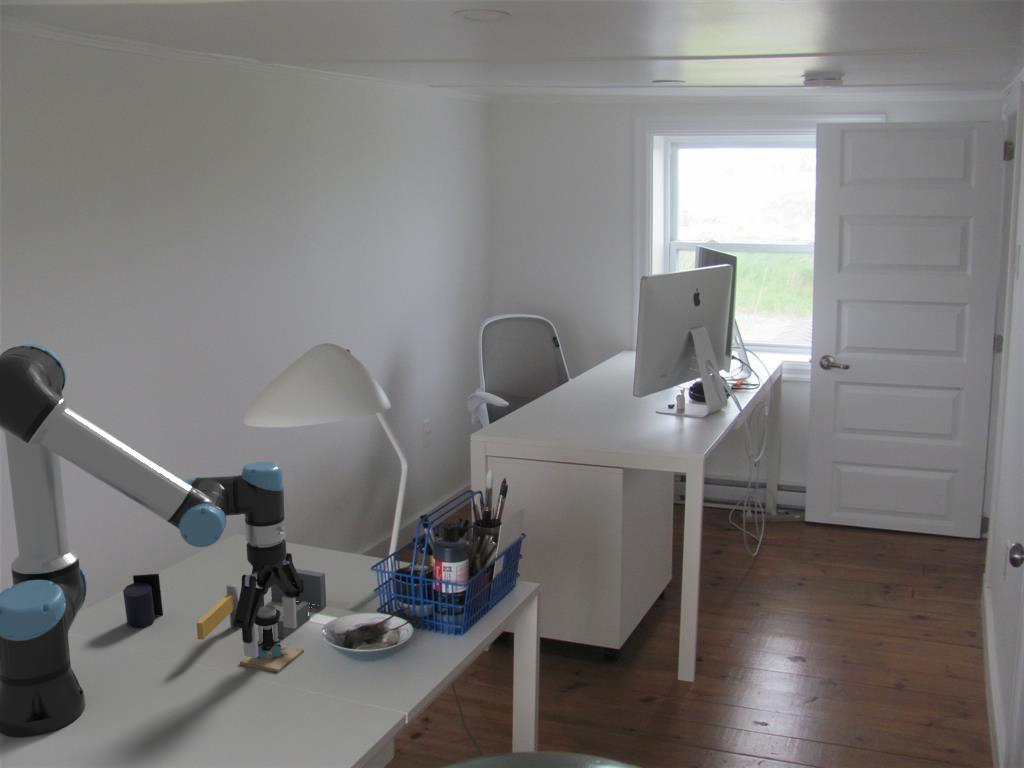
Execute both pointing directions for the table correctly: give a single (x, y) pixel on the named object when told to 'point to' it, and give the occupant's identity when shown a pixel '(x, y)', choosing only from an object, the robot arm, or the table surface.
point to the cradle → (310, 593)
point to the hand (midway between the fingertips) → (271, 641)
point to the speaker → (143, 600)
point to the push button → (268, 633)
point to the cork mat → (274, 660)
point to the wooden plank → (218, 612)
